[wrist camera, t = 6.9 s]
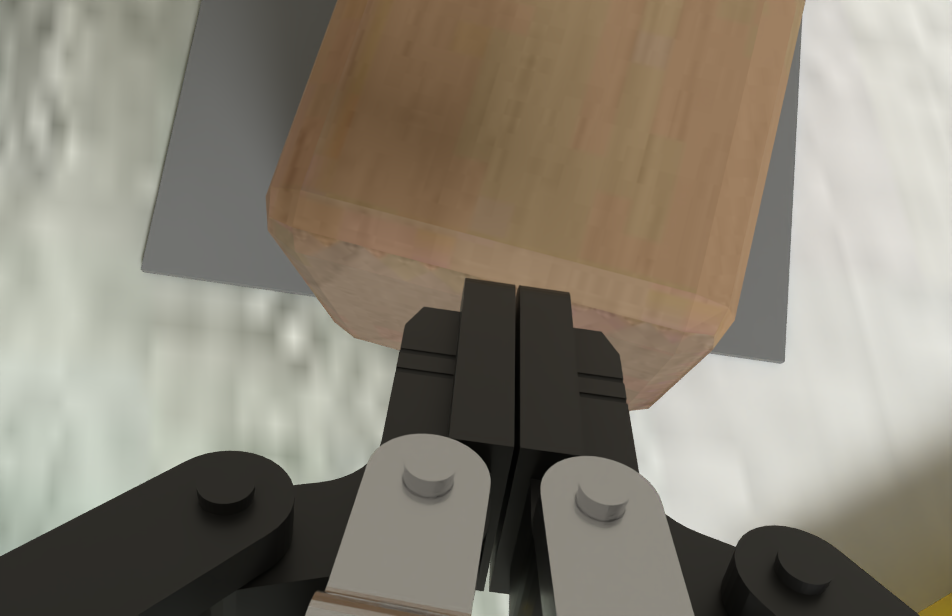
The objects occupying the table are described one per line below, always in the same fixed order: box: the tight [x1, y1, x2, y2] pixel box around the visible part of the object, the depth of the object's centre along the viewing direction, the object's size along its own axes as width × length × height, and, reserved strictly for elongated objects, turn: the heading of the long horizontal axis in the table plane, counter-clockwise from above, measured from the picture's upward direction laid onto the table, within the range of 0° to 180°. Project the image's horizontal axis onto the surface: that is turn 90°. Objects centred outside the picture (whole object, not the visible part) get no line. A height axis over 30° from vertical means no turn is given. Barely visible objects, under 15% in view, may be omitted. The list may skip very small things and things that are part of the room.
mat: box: [141, 0, 802, 363], centre depth 30 cm, size 18×20×1 cm
